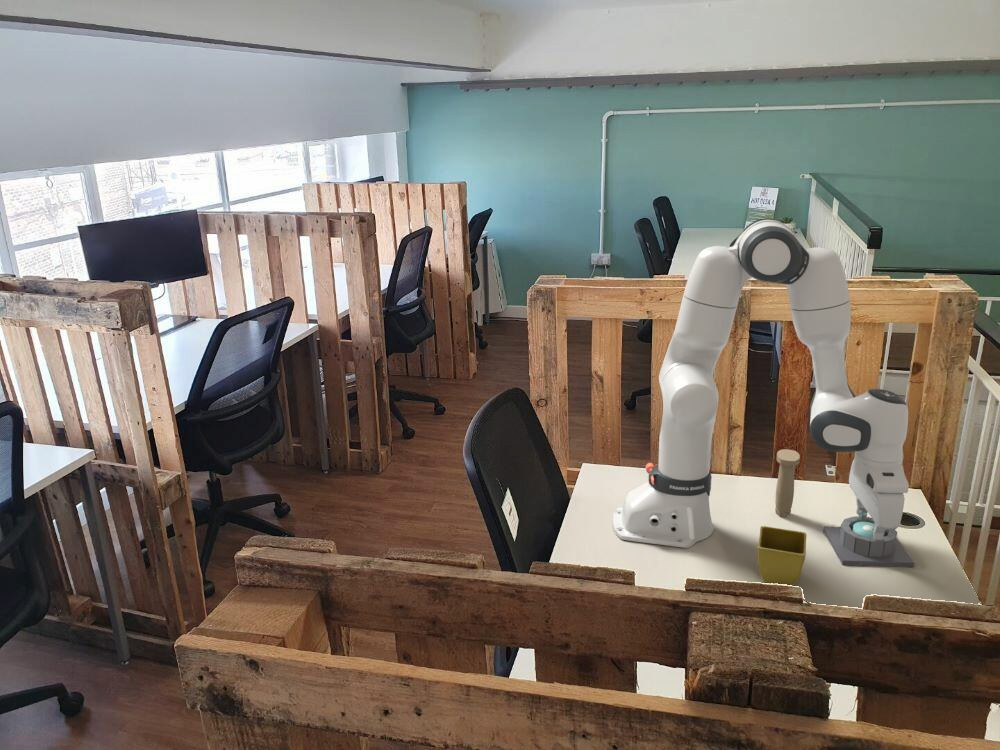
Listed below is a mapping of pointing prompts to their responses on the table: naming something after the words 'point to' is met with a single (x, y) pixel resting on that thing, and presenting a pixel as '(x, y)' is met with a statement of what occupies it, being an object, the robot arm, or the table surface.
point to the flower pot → (781, 555)
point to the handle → (785, 481)
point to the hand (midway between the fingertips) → (868, 526)
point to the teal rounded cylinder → (864, 528)
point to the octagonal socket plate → (866, 546)
